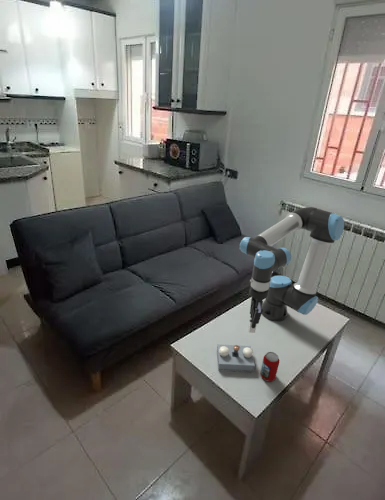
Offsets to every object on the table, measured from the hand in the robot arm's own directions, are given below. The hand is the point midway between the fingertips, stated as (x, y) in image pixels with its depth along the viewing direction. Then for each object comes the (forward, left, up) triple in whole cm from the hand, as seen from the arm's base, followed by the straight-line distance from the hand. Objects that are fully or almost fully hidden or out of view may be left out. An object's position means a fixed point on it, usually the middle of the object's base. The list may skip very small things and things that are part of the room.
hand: (251, 331), depth 137 cm
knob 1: (+11, 0, -16) cm, 20 cm away
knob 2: (0, 0, -16) cm, 16 cm away
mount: (+6, 0, -18) cm, 19 cm away
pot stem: (+6, 0, -14) cm, 15 cm away
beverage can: (-8, +8, -18) cm, 22 cm away
